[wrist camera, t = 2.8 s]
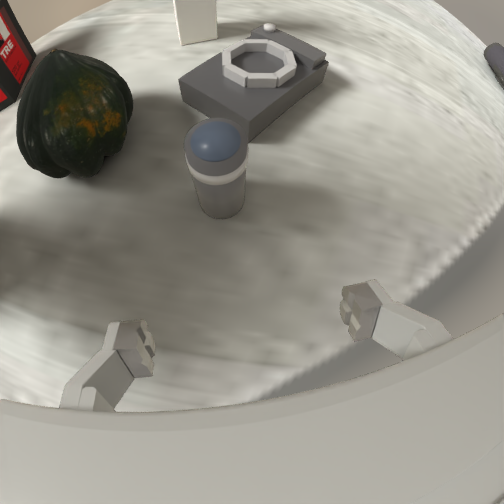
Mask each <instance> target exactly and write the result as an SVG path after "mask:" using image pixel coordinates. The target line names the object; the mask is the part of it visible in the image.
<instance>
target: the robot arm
mask: <svg viewBox="0 0 504 504" xmlns="http://www.w3.org/2000/svg"><path fill="white" fill-rule="evenodd" d="M342 296H343V300H342V301H341V302H340V315H341V318H342V320H343V322H344V324H346V325H348V326H349V329H348V332H349V333H350V335H351V337H352V339H353V341H354V342H356V341H360V340H364V339H368V338H371V337H372V339H374V340H375V341H377V342H378V343H379V344H381V345H382V346H384V347H385V348H387V349H388V350H390V351H391V352H393V353H394V354H396V355H397V356H399V357H400V358H401V359H402V361H401V362H400V363H397V364H394V365H391V366H389V367H386V368H383V369H380V370H377V371H375V372H371V373H368V374H366V375H362V376H359V377H356V378H353V379H350V380H346V381H342V382H339V383H335V384H332V385H328V386H325V387H321V388H317V389H313V390H309V391H305V392H300V393H296V394H291V395H287V396H282V397H277V398H272V399H266V400H261V401H255V402H249V403H242V404H235V405H228V406H220V407H212V408H202V409H191V410H178V411H159V412H116V411H115V410H114V408H115V407H116V405H117V404H118V402H119V401H120V399H121V398H122V396H123V395H124V393H125V392H126V390H127V389H128V387H129V386H130V384H131V383H132V382H133V380H134V378H139V377H150V376H153V368H154V363H153V361H152V358H153V357H154V355H155V342H154V339H153V336H152V334H151V333H150V332H148V331H147V328H148V325H147V323H146V321H145V320H144V319H140V320H127V321H118V322H111V323H110V324H109V326H108V329H107V332H106V336H105V339H104V343H103V347H102V350H101V351H98V352H97V353H96V354H95V355H94V356H93V357H92V358H91V359H90V360H89V361H88V362H87V363H86V364H85V365H84V366H83V367H82V368H81V369H80V370H79V371H78V372H77V373H76V374H75V375H74V376H73V377H72V378H71V379H70V380H69V381H68V383H67V384H66V385H65V387H64V391H63V394H62V398H61V402H60V406H59V408H53V407H45V406H38V405H32V404H25V403H20V402H14V401H10V400H6V399H0V504H504V313H503V314H501V315H499V316H497V317H495V318H494V319H492V320H490V321H488V322H487V323H485V324H483V325H481V326H479V327H477V328H475V329H473V330H472V331H470V332H468V333H466V334H464V335H462V336H460V337H458V338H456V339H453V337H452V336H451V335H450V333H449V332H448V331H447V329H446V328H445V327H444V325H443V324H442V323H441V322H440V321H438V320H436V319H434V318H432V317H430V316H428V315H425V314H423V313H421V312H419V311H417V310H414V309H412V308H410V307H408V306H406V305H404V304H401V303H399V302H394V301H393V300H392V299H391V297H390V296H389V295H388V294H387V292H386V291H385V290H384V288H383V287H382V286H381V285H380V283H379V282H378V281H377V280H375V279H374V280H370V281H366V282H362V283H358V284H353V285H349V286H344V287H343V289H342Z"/></svg>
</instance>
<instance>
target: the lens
mask: <svg viewBox="0 0 504 504" xmlns="http://www.w3.org/2000/svg"><path fill="white" fill-rule="evenodd" d="M184 150H185V158H186V162H187V166H188V169H189V171H190V173H191V175H192V178H193V182H194V185H195V189H196V192H197V195H198V199H199V202H200V205H201V208H202V209H203V211H204V212H205V213H206V214H207V215H209V216H211V217H213V218H217V219H226V218H229V217H232V216H234V215H235V214H237V213H238V212H239V211H240V209H241V208H242V206H243V203H244V194H245V177H246V166H247V162H248V139H247V135H246V132H245V131H244V129H243V128H242V127H241V126H240V125H239V124H238V123H236V122H234V121H232V120H229V119H226V118H210V119H206V120H203V121H201V122H199V123H197V124H196V125H194V126H193V127H192V128H191V129H190V130H189V131H188V133H187V135H186V137H185V140H184Z"/></svg>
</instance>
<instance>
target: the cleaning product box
mask: <svg viewBox="0 0 504 504" xmlns="http://www.w3.org/2000/svg"><path fill="white" fill-rule="evenodd" d="M35 57H36V54H35V52H34V50H33V48H32V47H31V45H30V43H29V41H28V39H27V38H26V36H25V34H24V32H23V30H22V29H21V27H20V25H19V23H18V21H17V19H16V17H15V15H14V13H13V11H12V9H11V7H10V5H9V3H8V1H7V0H0V111H2V110H3V109H5V108H6V107H8V106H10V105H11V104H13V103H15V102H16V99H17V97H18V94H19V92H20V89H21V87H22V84H23V82H24V80H25V78H26V75H27V73H28V71H29V69H30V67H31V65H32V63H33V61H34V59H35Z"/></svg>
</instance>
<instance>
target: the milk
mask: <svg viewBox="0 0 504 504" xmlns="http://www.w3.org/2000/svg"><path fill="white" fill-rule="evenodd" d="M173 4H174V11H175V18H176V24H177V31H178V35H179V39H180V43H181V45H187V44H191V43H196V42H202V41H207V40H213V39H217V10H216V0H173Z"/></svg>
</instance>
